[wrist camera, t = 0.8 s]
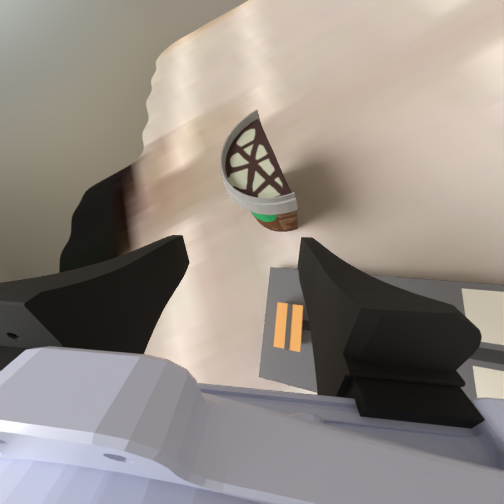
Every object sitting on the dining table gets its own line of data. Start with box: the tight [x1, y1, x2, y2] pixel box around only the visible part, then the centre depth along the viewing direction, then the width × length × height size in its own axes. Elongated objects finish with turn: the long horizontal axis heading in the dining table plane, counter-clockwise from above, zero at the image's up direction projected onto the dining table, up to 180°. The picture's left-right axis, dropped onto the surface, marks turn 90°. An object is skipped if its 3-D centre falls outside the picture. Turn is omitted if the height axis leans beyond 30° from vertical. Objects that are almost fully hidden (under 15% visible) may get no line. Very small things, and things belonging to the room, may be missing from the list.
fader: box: [273, 302, 304, 352], centre depth 18 cm, size 4×2×3 cm, turn 173°
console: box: [259, 267, 504, 400], centre depth 18 cm, size 12×26×2 cm, turn 82°
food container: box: [221, 110, 298, 232], centre depth 23 cm, size 12×6×10 cm, turn 17°
